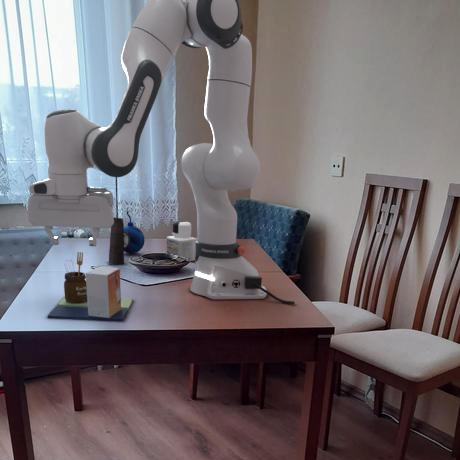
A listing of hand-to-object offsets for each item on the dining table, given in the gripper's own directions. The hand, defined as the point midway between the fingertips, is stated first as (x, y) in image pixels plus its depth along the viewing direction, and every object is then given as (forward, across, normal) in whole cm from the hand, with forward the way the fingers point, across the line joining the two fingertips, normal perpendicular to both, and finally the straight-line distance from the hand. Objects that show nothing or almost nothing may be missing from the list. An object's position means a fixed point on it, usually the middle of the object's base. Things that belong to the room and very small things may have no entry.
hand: (74, 245), depth 139 cm
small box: (+14, -9, +10) cm, 19 cm away
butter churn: (+15, -2, -46) cm, 48 cm away
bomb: (+16, -4, -64) cm, 66 cm away
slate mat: (+15, -4, +10) cm, 18 cm away
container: (+16, -24, -58) cm, 64 cm away
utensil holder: (+14, 0, 0) cm, 14 cm away
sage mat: (+15, -4, 0) cm, 15 cm away
